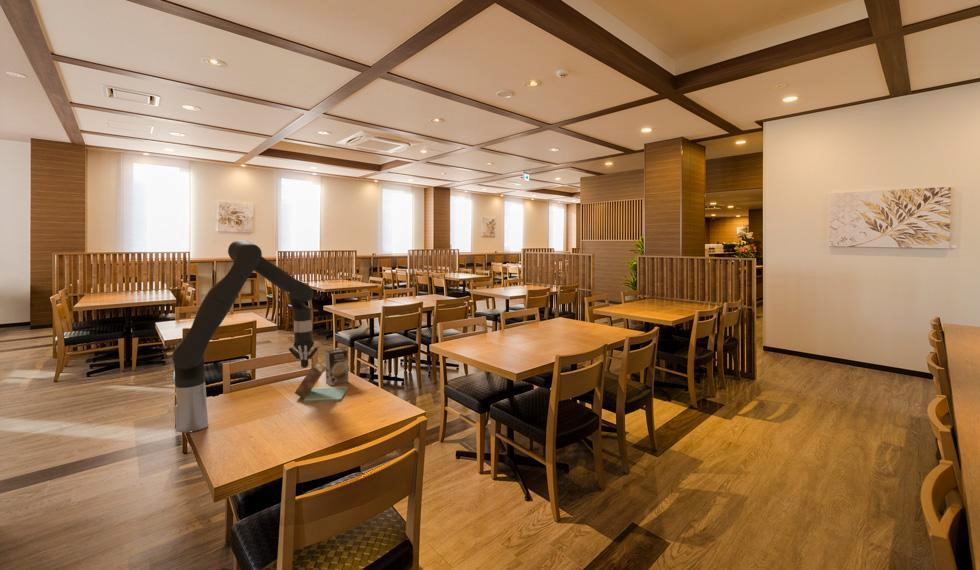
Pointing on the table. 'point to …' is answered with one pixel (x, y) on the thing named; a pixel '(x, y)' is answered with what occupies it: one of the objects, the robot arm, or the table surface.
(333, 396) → the mat
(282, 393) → the table surface
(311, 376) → the walnut block
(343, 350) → the coffee box
